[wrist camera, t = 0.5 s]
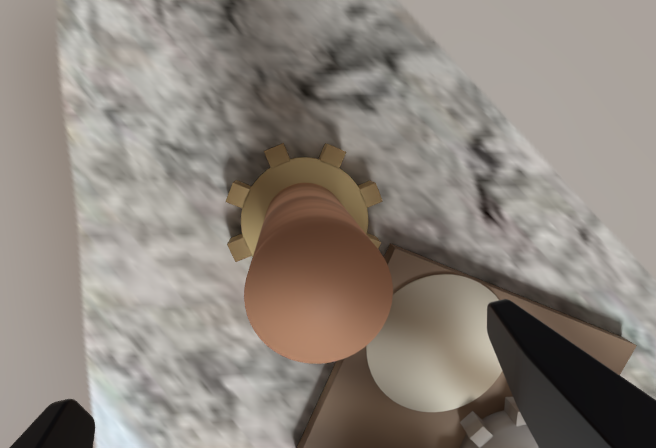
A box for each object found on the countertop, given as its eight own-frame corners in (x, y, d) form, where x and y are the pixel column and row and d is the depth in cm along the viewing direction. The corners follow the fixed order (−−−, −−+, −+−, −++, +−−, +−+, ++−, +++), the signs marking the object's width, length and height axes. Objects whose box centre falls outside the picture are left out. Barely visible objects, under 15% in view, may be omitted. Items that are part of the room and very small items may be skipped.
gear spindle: (343, 309, 26) (391, 459, 14) (206, 258, 25) (124, 376, 12) (402, 177, 25) (513, 214, 12) (261, 115, 23) (231, 90, 11)
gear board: (519, 517, 30) (548, 565, 27) (296, 449, 28) (297, 493, 24) (622, 336, 28) (668, 364, 25) (390, 243, 25) (406, 259, 22)
